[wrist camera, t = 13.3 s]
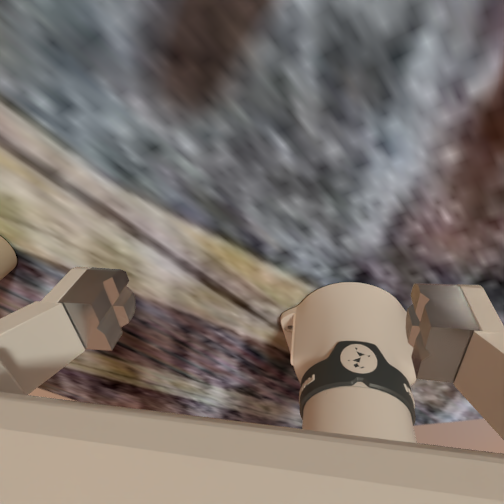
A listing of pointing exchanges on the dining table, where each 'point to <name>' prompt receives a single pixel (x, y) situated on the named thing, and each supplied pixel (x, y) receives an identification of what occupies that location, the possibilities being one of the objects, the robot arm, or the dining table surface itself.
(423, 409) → the dining table surface
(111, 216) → the dining table surface
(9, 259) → the travel mug
